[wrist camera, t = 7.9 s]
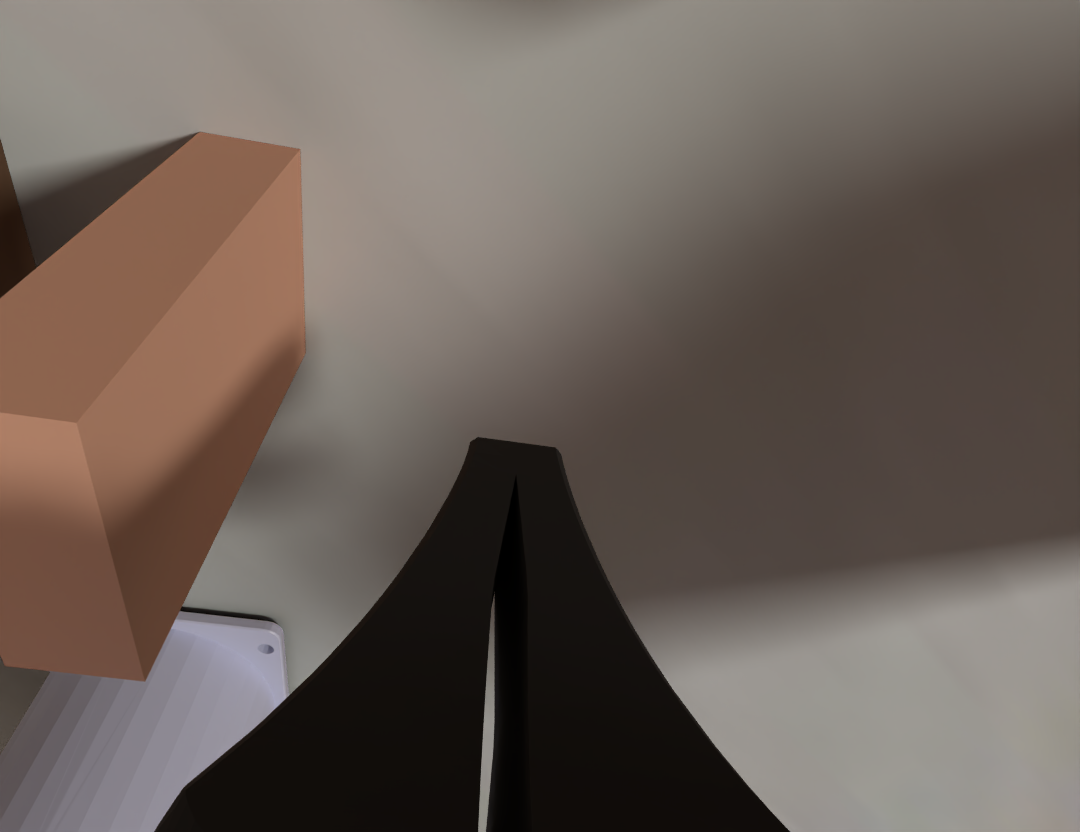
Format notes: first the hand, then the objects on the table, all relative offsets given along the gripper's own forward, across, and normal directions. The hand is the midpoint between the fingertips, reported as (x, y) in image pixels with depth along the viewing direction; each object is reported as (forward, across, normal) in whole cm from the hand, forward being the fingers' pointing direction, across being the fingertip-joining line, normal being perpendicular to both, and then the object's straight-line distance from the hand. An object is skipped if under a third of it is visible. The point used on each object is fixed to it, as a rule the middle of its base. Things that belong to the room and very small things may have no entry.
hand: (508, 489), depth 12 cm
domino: (+6, +6, 0) cm, 9 cm away
